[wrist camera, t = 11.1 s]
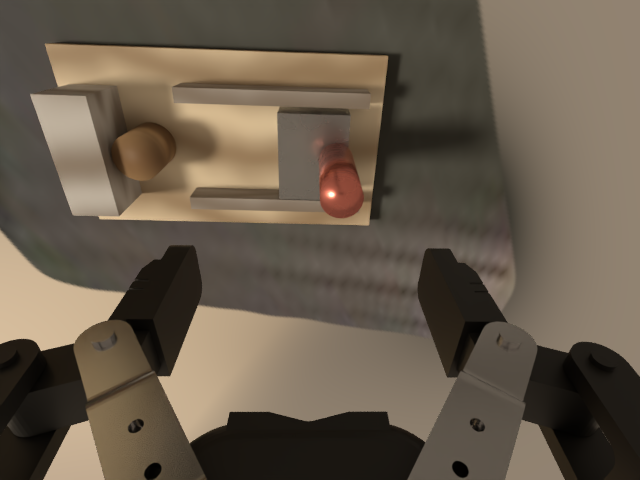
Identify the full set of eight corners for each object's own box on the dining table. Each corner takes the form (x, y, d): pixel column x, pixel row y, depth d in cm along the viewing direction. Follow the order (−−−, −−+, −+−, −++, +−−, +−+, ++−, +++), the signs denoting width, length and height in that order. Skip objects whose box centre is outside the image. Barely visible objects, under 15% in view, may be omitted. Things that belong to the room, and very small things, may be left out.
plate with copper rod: (280, 105, 32) (265, 141, 23) (353, 108, 32) (369, 144, 23) (281, 186, 36) (270, 244, 27) (347, 187, 36) (358, 246, 27)
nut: (127, 121, 33) (105, 133, 29) (172, 123, 33) (155, 134, 30) (137, 164, 35) (118, 180, 31) (179, 165, 35) (164, 181, 32)
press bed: (53, 42, 31) (-1, 47, 25) (385, 55, 31) (400, 62, 26) (105, 213, 39) (72, 244, 34) (367, 219, 40) (375, 250, 34)
